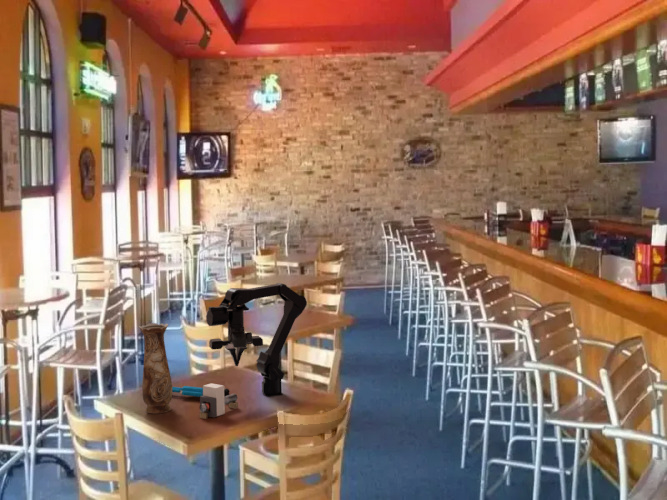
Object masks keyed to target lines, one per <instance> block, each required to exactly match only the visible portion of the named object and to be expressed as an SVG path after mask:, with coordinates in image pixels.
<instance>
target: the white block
mask: <svg viewBox="0 0 667 500" xmlns="http://www.w3.org/2000/svg"><path fill="white" fill-rule="evenodd" d="M224 387H225V385H222V384H219V383H218V384H216V383H208V384H204V385H203V386H202V388H203V396H208V397H213V398H216V401H217V417H219V416H222V415H225V414H226V412H225V408H226V407H225V406H226V405H225V404H224ZM206 403H208V402H206ZM209 411H211V409H210V410H209Z"/></svg>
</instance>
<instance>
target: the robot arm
mask: <svg viewBox="0 0 667 500" xmlns="http://www.w3.org/2000/svg"><path fill="white" fill-rule="evenodd" d="M274 296H279V298H280V299H281V300H283V301H284V304H283V315H282V317H281V320H280V322H279V324H278V326H277V328H276V331H275V333H274V335H273V337H272V340H271V342H270V345H269V346H268V349H267V350H265V351H260V353H259V356H258V358H257V359H256V366H255V367H256V369H257V371H258V372H259V373H260V374H261V377H263V378H262V381H261V393H262V394H263V395H264V396H265V397H273V396H282V395H284V393H283V392H282V389H283V388H282V380H283V379H284V376H285V373H284V372H283V371H282V370H281V369H280V368H279V366H280V363H281V358H280V357H281V352H282V351H283V348H284V346H285V343H286V342H287V339H288V337H289V334H290V332H291V330H292V329H293V326H294V323H295V320H297V318H299V316H301V315H302V313H303V312H304V310H305V309H306V308H307V304H308V301H307V299H306V297H305V296H304V295H302V294H299V293H297V292H296V291H294V290H293V289H292V288H290V287H288V286H287V284H285V283H282V282H278V283H275V284H269V285H264V286H257V287H252V288H244V287H243V288H241V287H237V288H236V287H235V288H234V287H230V288H228V289H227V290H226V292H225V294H224V298H223V299H222V301H221V302H220V304H219V306H209V307H208V310H207V313H206V317H205V318H206V324H207V326H208V327H215V326H224V325H226V324H227V340H222V339H221V338H211V339H209V342H208V344H209V348H210V349H211V350H221V349H222V348H223V347H224V348H225V349H226V351H228V352H229V353H230V356H231V358H232V361H233V364H234V366H235V367H238V366H239V364H240V360H241V358H242V355H243V354H244V351H245V350H248V345H253V346H254V347H261V346H264V340H263V338H262V337H261V336H259V335H253V332H250V331H249V332H245V326H244V325H245V320H244V318H245V317H244V312H246V311H249V310H250V308H249V307H248V306H247V305H246V304H247V303H249V302H251V301H253V300H257V299H262V298H268V297H274Z"/></svg>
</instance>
